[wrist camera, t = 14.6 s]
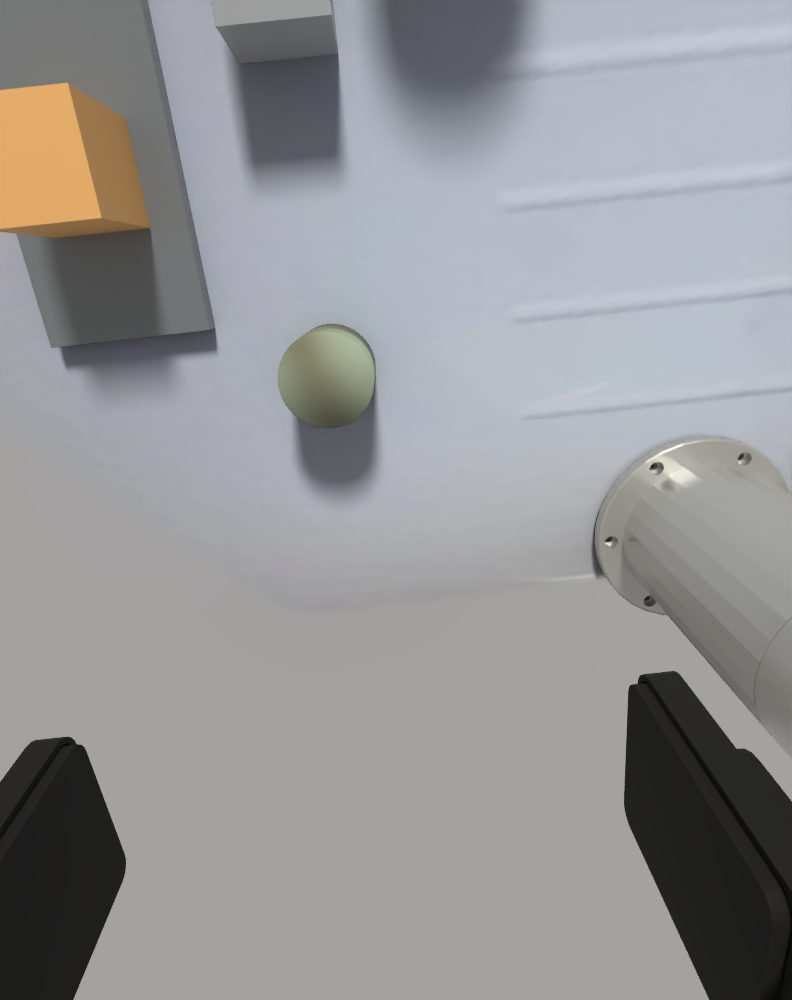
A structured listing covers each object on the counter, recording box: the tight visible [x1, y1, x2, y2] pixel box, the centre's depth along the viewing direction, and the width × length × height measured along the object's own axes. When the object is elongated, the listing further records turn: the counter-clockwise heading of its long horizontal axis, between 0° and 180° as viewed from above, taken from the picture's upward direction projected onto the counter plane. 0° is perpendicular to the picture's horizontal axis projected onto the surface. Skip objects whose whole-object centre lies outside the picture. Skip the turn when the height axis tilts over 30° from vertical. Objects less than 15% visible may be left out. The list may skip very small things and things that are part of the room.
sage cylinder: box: [278, 324, 375, 428], centre depth 33 cm, size 5×5×5 cm
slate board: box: [0, 0, 215, 348], centre depth 31 cm, size 9×16×1 cm, turn 6°
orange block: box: [0, 83, 150, 238], centre depth 28 cm, size 5×5×6 cm
